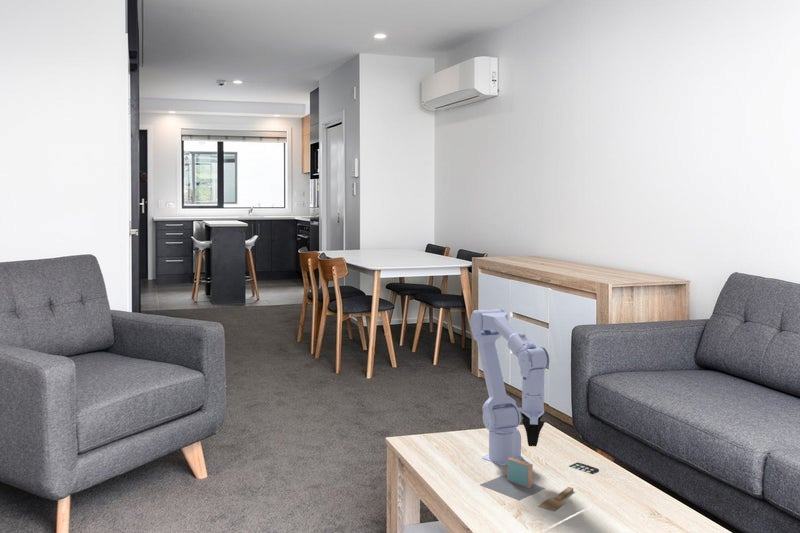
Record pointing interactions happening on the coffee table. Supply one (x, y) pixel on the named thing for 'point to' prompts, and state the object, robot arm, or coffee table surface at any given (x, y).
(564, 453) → the coffee table surface
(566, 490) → the walnut turner
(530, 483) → the tile
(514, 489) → the mat
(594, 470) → the smartphone
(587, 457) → the coffee table surface
